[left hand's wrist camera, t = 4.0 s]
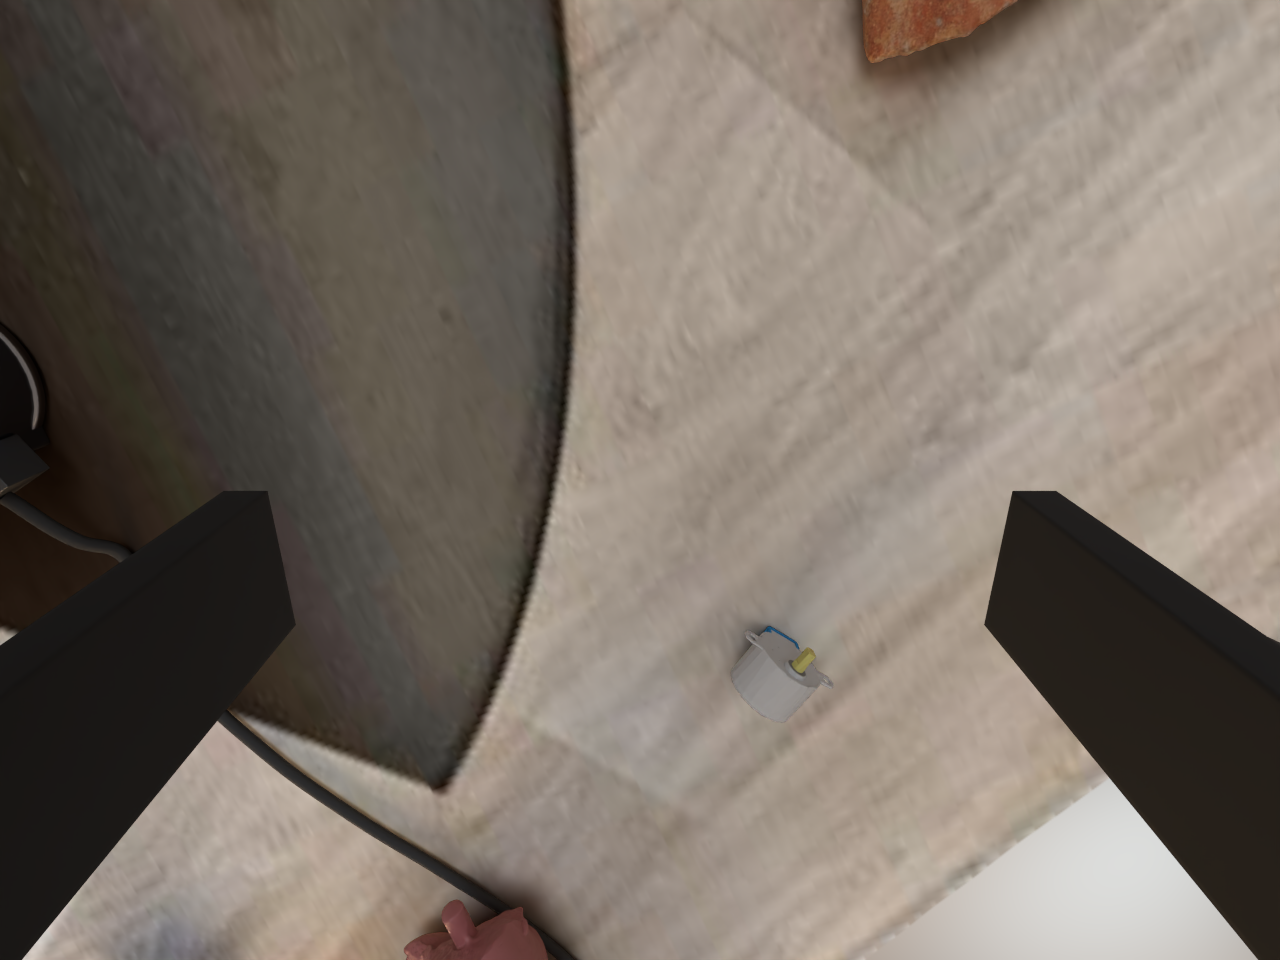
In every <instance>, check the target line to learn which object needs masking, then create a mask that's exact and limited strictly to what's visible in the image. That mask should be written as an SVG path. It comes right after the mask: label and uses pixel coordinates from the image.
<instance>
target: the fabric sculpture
mask: <svg viewBox="0 0 1280 960" xmlns="http://www.w3.org/2000/svg"><path fill="white" fill-rule="evenodd" d="M442 921H443V923H444V925H445V927H446V928H447V930H448V932H449V933H447V932H437V933H429V934H425V935H422V936H420V937H418V938H416V939H414V940H413V941H411V942H410V943H409V944H407V945H406V947H405V948H404V952H405V954H406V955H407V956H408V957H407V959H406V960H548V957H547V952H546V949H545V946H544V943H543V941H542V939H541V937H540V935H539V934H538V932H537V931H536V930H535V929H534V928H533V927H532V926H530V925H528V922H527V920H526V919H525V918H524V917H523V907H517V908H515V909H513V910H507V911H504V912H502V913H501V914H499V915H498V916H496V917H494V918H492V919H491V920H488V921H485V922H484V923H482V924H480V925H478V926H477V927H475V926H474V924H473V922H472V920H471V918H470V916H469V914H468V912H467V910H466V908H465V906H464V904H463V903H462V902H461V901H460V900H453V901H451V902H449V903H448V904H447V905H446V906H445V907H444V909H443V911H442Z"/></svg>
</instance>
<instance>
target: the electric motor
mask: <svg viewBox="0 0 1280 960" xmlns="http://www.w3.org/2000/svg"><path fill="white" fill-rule="evenodd" d="M750 635H751V636H753V637H754V638H755V640H756V641H755V640H753V639H752V638H751V637H750ZM745 636H746V638H747V639H748V640H749V641H750V642H751V643H753V644H752V645H751V647H750V648H749V649H748V650H747V651H746V653H745V654H744V655H743V656H742V657H741V659H740V660H739V661H738V662H737V663H736V664H735V666H734V667H733V668H732V670H731V678H732V681H733V684H734V686H735V688H736V690H737V691H738V693H739V694H740V695H741V697H742V698H743V699H744V700H745V701H746V702H747V703H748V704H749V705H750V706H751V707H752V708H753V709H754V710H755V711H757V712H758V713H759V714H761V715H762V716H764V717H766V718H768V719H770V720H772V721H775V722H786V721H787V720H788V719H789V718H790V717H791V716H792V715H793V714H794V713H795V712H796V711H797V709H798V708H799V707H800V706H801V705H802V704H803V703H804V702H805V701H806V700H807V699H808V698H809V696H810V695H811V694H812V693H813V692H814V691H815V690H816V689H817V688H818V687H819V686H820V684H822V685H824V686H826V687H828V688H830V689H831V688H833V687H834V685H833V682H832V681H831V680H830V679H829V678H828V677H827V676H826V675H824V674H822V673H821V672H819V671H817V670H816V668H815V667H814V666H813V664H812V663H811V662H812V661H813V660H814V658H815V657H816V656H815V654H814V651H813V650H812V649H810V648H808V647H807V648H806V649H805V650H804V651H803V652H801V651H800V650H799V647H798V644H797V643H796V642H795V641H794V640H792V639H791V638H789V637H787V636H786V635H784V634H782V633H781V632H779V631H777V630H775V629H774V628H772V627H770V626H768V627H767V629H766V630H765V631H764V632H763V633H762V634H761V635H760V636H757V635H756V634H754V633H753V632H751V631H746V632H745ZM823 678H824V679H826V680H827V681H828V683H826V682H825V680H824V679H823Z"/></svg>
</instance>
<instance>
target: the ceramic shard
mask: <svg viewBox="0 0 1280 960" xmlns="http://www.w3.org/2000/svg"><path fill="white" fill-rule="evenodd" d="M1017 1H1018V0H862V7H863V41H864V49H865V53H866V56H867V58H868V60H869V61H870V62H871V63H873V62H880V61H882V60H884V59H887V58H893V57H895V56H898V55H903V56H908V55H910V54H911V53H913V52H915V51H921V50H924V49H926V48H928V47H930V46H932V45H934V44H937V43H940V42H944V41H947V40H951V39H954V38H958V37H966V36H969V35H970V34H971V33H972V32H973V31H974V30H975V29H976V28H977V27H978V26H979V25H981V24H984V23H986V22H987V21H989V20H990V19H991V18H992V17H993V16H995V15H996V14H998V13H999V12H1001V11H1002V10H1004V9H1006V8H1007V7H1009V6H1010V5H1012V4H1014V3H1015V2H1017Z"/></svg>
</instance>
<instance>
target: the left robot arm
mask: <svg viewBox="0 0 1280 960" xmlns="http://www.w3.org/2000/svg"><path fill="white" fill-rule="evenodd" d="M295 625H296V624H295V619H294V614H293V610H292V605H291V600H290V595H289V591H288V586H287V581H286V577H285V572H284V567H283V562H282V558H281V553H280V548H279V544H278V539H277V534H276V529H275V525H274V520H273V515H272V511H271V506H270V501H269V496H268V492H267V491H223V492H222V493H220V494H219V495H217V496H216V497H215V498H213V499H212V500H210V501H209V502H207V503H206V504H204V505H203V506H201V507H200V508H199V509H197V510H196V511H194V512H193V513H191V514H190V515H188V516H187V517H186V518H184V519H183V520H181V521H180V522H178V523H177V524H175V525H174V526H173V527H171V528H170V529H168V530H167V531H165V532H164V533H162V534H161V535H160V536H158V537H157V538H155V539H154V540H152V541H151V542H149V543H148V544H146V545H145V546H144V547H142V548H141V549H139V550H138V551H136V552H135V553H133V554H132V555H131V556H129V557H128V558H126V559H125V560H123V561H122V562H120V563H119V564H118V565H116V566H115V567H113V568H112V569H110V570H109V571H107V572H106V573H104V574H103V575H102V576H100V577H99V578H97V579H96V580H94V581H93V582H91V583H90V584H89V585H87V586H86V587H84V588H83V589H81V590H80V591H78V592H77V593H76V594H74V595H73V596H71V597H70V598H68V599H67V600H65V601H64V602H63V603H61V604H60V605H58V606H57V607H55V608H54V609H52V610H51V611H49V612H48V613H47V614H45V615H44V616H42V617H41V618H39V619H38V620H36V621H35V622H34V623H32V624H31V625H29V626H28V627H26V628H25V629H23V630H22V631H21V632H19V633H18V634H16V635H15V636H13V637H12V638H10V639H9V640H7V641H6V642H5V643H3V644H2V645H0V960H22V959H23V958H24V956H25V955H26V954H27V953H28V952H29V950H30V949H31V948H32V947H33V945H34V944H35V943H36V942H37V941H38V939H39V938H40V937H41V936H42V934H43V933H44V932H45V931H46V930H47V928H48V927H49V926H50V925H51V923H52V922H53V921H54V920H55V918H56V917H57V916H58V915H59V914H60V912H61V911H62V910H63V909H64V907H65V906H66V905H67V904H68V903H69V901H70V900H71V899H72V898H73V896H74V895H75V894H76V893H77V892H78V890H79V889H80V888H81V887H82V885H83V884H84V883H85V882H86V881H87V879H88V878H89V877H90V876H91V874H92V873H93V872H94V871H95V870H96V868H97V867H98V866H99V865H100V863H101V862H102V861H103V860H104V859H105V857H106V856H107V855H108V854H109V852H110V851H111V850H112V849H113V848H114V846H115V845H116V844H117V843H118V841H119V840H120V839H121V838H122V837H123V835H124V834H125V833H126V832H127V830H128V829H129V828H130V827H131V826H132V824H133V823H134V822H135V821H136V819H137V818H138V817H139V816H140V815H141V813H142V812H143V811H144V810H145V808H146V807H147V806H148V805H149V804H150V802H151V801H152V800H153V799H154V797H155V796H156V795H157V794H158V793H159V791H160V790H161V789H162V788H163V786H164V785H165V784H166V783H167V782H168V780H169V779H170V778H171V777H172V775H173V774H174V773H175V772H176V771H177V769H178V768H179V767H180V766H181V764H182V763H183V762H184V761H185V759H186V758H187V757H188V756H189V755H190V753H191V752H192V751H193V750H194V748H195V747H196V746H197V745H198V744H199V742H200V741H201V740H202V739H203V737H204V736H205V735H206V734H207V733H208V731H209V730H210V729H211V728H212V726H213V725H214V724H215V723H216V722H217V720H218V719H219V718H220V717H221V715H222V714H223V713H224V712H225V711H226V709H227V708H228V707H229V706H230V704H231V703H232V702H233V701H234V700H235V698H236V697H237V696H238V695H239V693H240V692H241V691H242V690H243V689H244V687H245V686H246V685H247V684H248V682H249V681H250V680H251V679H252V678H253V676H254V675H255V674H256V673H257V671H258V670H259V669H260V668H261V667H262V665H263V664H264V663H265V662H266V660H267V659H268V658H269V657H270V656H271V654H272V653H273V652H274V651H275V649H276V648H277V647H278V646H279V645H280V643H281V642H282V641H283V640H284V638H285V637H286V636H287V635H288V634H289V632H290V631H291V630H292V629H293V627H294V626H295ZM984 625H985V626H986V627H987V629H988V630H989V631H990V632H991V634H992V635H993V636H994V637H995V638H996V640H997V641H998V642H999V643H1000V645H1001V646H1002V647H1003V648H1004V649H1005V651H1006V652H1007V653H1008V654H1009V656H1010V657H1011V658H1012V659H1013V660H1014V662H1015V663H1016V664H1017V665H1018V667H1019V668H1020V669H1021V670H1022V671H1023V673H1024V674H1025V675H1026V676H1027V678H1028V679H1029V680H1030V681H1031V682H1032V684H1033V685H1034V686H1035V687H1036V689H1037V690H1038V691H1039V692H1040V693H1041V695H1042V696H1043V697H1044V698H1045V700H1046V701H1047V702H1048V703H1049V704H1050V706H1051V707H1052V708H1053V709H1054V711H1055V712H1056V713H1057V714H1058V715H1059V717H1060V718H1061V719H1062V720H1063V722H1064V723H1065V724H1066V725H1067V726H1068V728H1069V729H1070V730H1071V731H1072V733H1073V734H1074V735H1075V736H1076V737H1077V739H1078V740H1079V741H1080V742H1081V744H1082V745H1083V746H1084V747H1085V748H1086V750H1087V751H1088V752H1089V753H1090V755H1091V756H1092V757H1093V758H1094V759H1095V761H1096V762H1097V763H1098V764H1099V766H1100V767H1101V768H1102V769H1103V771H1104V772H1105V773H1106V774H1107V775H1108V777H1109V778H1110V779H1111V780H1112V782H1113V783H1114V784H1115V785H1116V786H1117V788H1118V789H1119V790H1120V791H1121V792H1122V794H1123V795H1124V796H1125V797H1126V799H1127V800H1128V801H1129V802H1130V804H1131V805H1132V806H1133V807H1134V808H1135V810H1136V811H1137V812H1138V813H1139V815H1140V816H1141V817H1142V818H1143V819H1144V821H1145V822H1146V823H1147V824H1148V826H1149V827H1150V828H1151V829H1152V830H1153V832H1154V833H1155V834H1156V835H1157V837H1158V838H1159V839H1160V840H1161V841H1162V843H1163V844H1164V845H1165V846H1166V847H1167V849H1168V850H1169V851H1170V852H1171V854H1172V855H1173V856H1174V857H1175V859H1176V860H1177V861H1178V862H1179V863H1180V865H1181V866H1182V867H1183V868H1184V870H1185V871H1186V872H1187V873H1188V874H1189V876H1190V877H1191V878H1192V879H1193V881H1194V882H1195V883H1196V884H1197V885H1198V887H1199V888H1200V889H1201V890H1202V892H1203V893H1204V894H1205V895H1206V896H1207V898H1208V899H1209V900H1210V901H1211V902H1212V904H1213V905H1214V906H1215V907H1216V909H1217V910H1218V911H1219V912H1220V914H1221V915H1222V916H1223V917H1224V918H1225V920H1226V921H1227V922H1228V923H1229V925H1230V926H1231V927H1232V928H1233V930H1234V931H1235V932H1236V933H1237V934H1238V936H1239V937H1240V938H1241V939H1242V940H1243V942H1244V943H1245V944H1246V945H1247V947H1248V948H1249V949H1250V950H1251V952H1252V953H1253V954H1254V955H1255V956H1256V958H1257V959H1258V960H1280V643H1279V642H1277V641H1275V640H1273V639H1271V638H1269V637H1267V636H1265V635H1264V634H1262V633H1261V632H1259V631H1258V630H1257V629H1255V628H1254V627H1252V626H1251V625H1249V624H1248V623H1246V622H1245V621H1244V620H1242V619H1241V618H1239V617H1238V616H1236V615H1235V614H1233V613H1232V612H1231V611H1229V610H1228V609H1226V608H1225V607H1223V606H1222V605H1220V604H1219V603H1217V602H1216V601H1215V600H1213V599H1212V598H1210V597H1209V596H1207V595H1206V594H1204V593H1203V592H1202V591H1200V590H1199V589H1197V588H1196V587H1194V586H1193V585H1191V584H1190V583H1189V582H1187V581H1186V580H1184V579H1183V578H1181V577H1180V576H1178V575H1177V574H1176V573H1174V572H1173V571H1171V570H1170V569H1168V568H1167V567H1165V566H1164V565H1162V564H1161V563H1160V562H1158V561H1157V560H1155V559H1154V558H1152V557H1151V556H1149V555H1148V554H1147V553H1145V552H1144V551H1142V550H1141V549H1139V548H1138V547H1136V546H1135V545H1134V544H1132V543H1131V542H1129V541H1128V540H1126V539H1125V538H1123V537H1122V536H1120V535H1119V534H1118V533H1116V532H1115V531H1113V530H1112V529H1110V528H1109V527H1107V526H1106V525H1105V524H1103V523H1102V522H1100V521H1099V520H1097V519H1096V518H1094V517H1093V516H1092V515H1090V514H1089V513H1087V512H1086V511H1084V510H1083V509H1081V508H1080V507H1079V506H1077V505H1076V504H1074V503H1073V502H1071V501H1070V500H1068V499H1067V498H1065V497H1064V496H1063V495H1061V494H1060V493H1058V492H1057V491H1013V492H1012V496H1011V501H1010V506H1009V511H1008V515H1007V520H1006V525H1005V529H1004V534H1003V539H1002V544H1001V548H1000V553H999V558H998V562H997V567H996V572H995V577H994V581H993V586H992V591H991V595H990V600H989V605H988V610H987V614H986V619H985V624H984Z"/></svg>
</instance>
